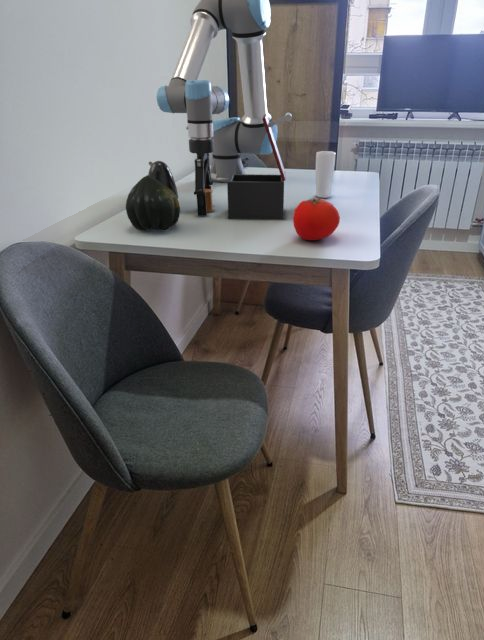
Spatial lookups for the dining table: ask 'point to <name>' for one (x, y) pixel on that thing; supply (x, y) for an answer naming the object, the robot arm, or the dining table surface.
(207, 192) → the orange tapered cylinder
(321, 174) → the drinking glass
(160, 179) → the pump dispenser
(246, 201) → the black storage bin
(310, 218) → the tomato
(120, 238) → the dining table surface
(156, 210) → the squash
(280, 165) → the lid
